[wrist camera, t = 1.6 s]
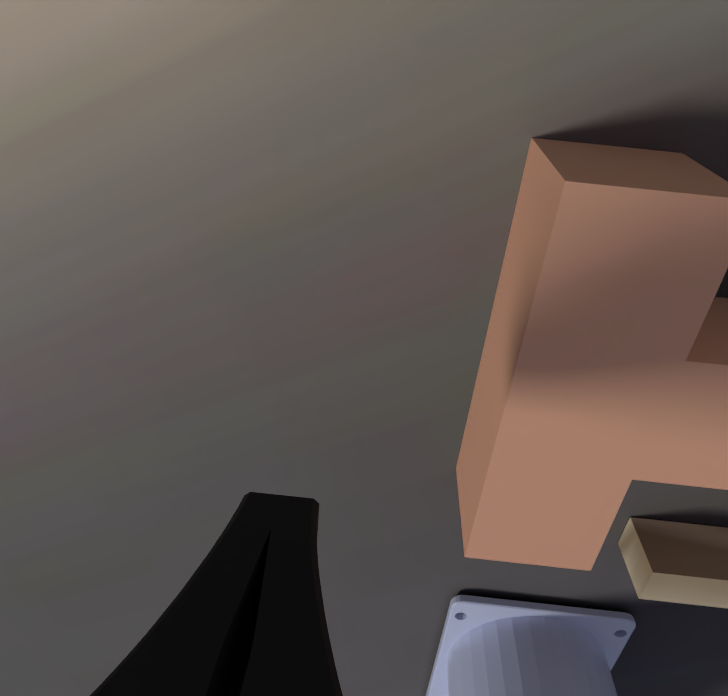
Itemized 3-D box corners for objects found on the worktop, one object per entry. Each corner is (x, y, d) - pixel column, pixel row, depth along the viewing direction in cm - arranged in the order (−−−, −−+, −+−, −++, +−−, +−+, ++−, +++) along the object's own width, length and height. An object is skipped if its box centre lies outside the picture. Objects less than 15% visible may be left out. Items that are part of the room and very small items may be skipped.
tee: (776, 502, 22) (844, 598, 18) (456, 468, 22) (464, 557, 19) (985, 183, 15) (1147, 240, 12) (531, 137, 16) (565, 181, 12)
